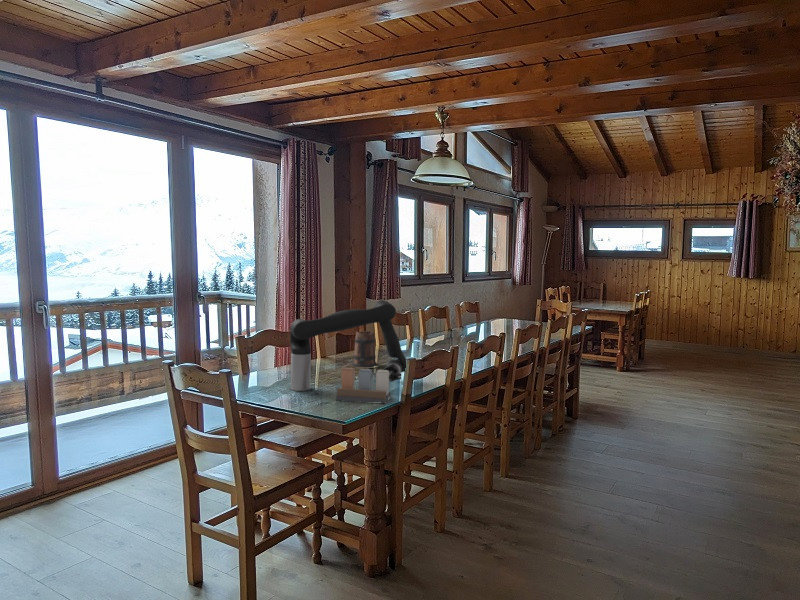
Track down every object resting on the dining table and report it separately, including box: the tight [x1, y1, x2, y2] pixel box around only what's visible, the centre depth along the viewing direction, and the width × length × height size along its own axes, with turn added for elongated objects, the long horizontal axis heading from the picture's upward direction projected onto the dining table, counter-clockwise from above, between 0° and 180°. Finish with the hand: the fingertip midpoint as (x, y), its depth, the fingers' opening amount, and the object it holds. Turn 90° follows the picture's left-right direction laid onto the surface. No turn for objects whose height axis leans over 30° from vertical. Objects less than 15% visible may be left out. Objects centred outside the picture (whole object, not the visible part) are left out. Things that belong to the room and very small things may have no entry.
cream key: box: [375, 369, 390, 396], centre depth 244 cm, size 4×5×11 cm
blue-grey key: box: [358, 369, 373, 390], centre depth 245 cm, size 4×5×11 cm
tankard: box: [350, 331, 378, 367], centre depth 314 cm, size 24×17×20 cm
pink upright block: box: [340, 367, 356, 389], centre depth 247 cm, size 4×5×11 cm
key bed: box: [335, 387, 391, 404], centre depth 244 cm, size 12×22×5 cm, turn 79°
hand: (384, 379), depth 248 cm, fingers closed
